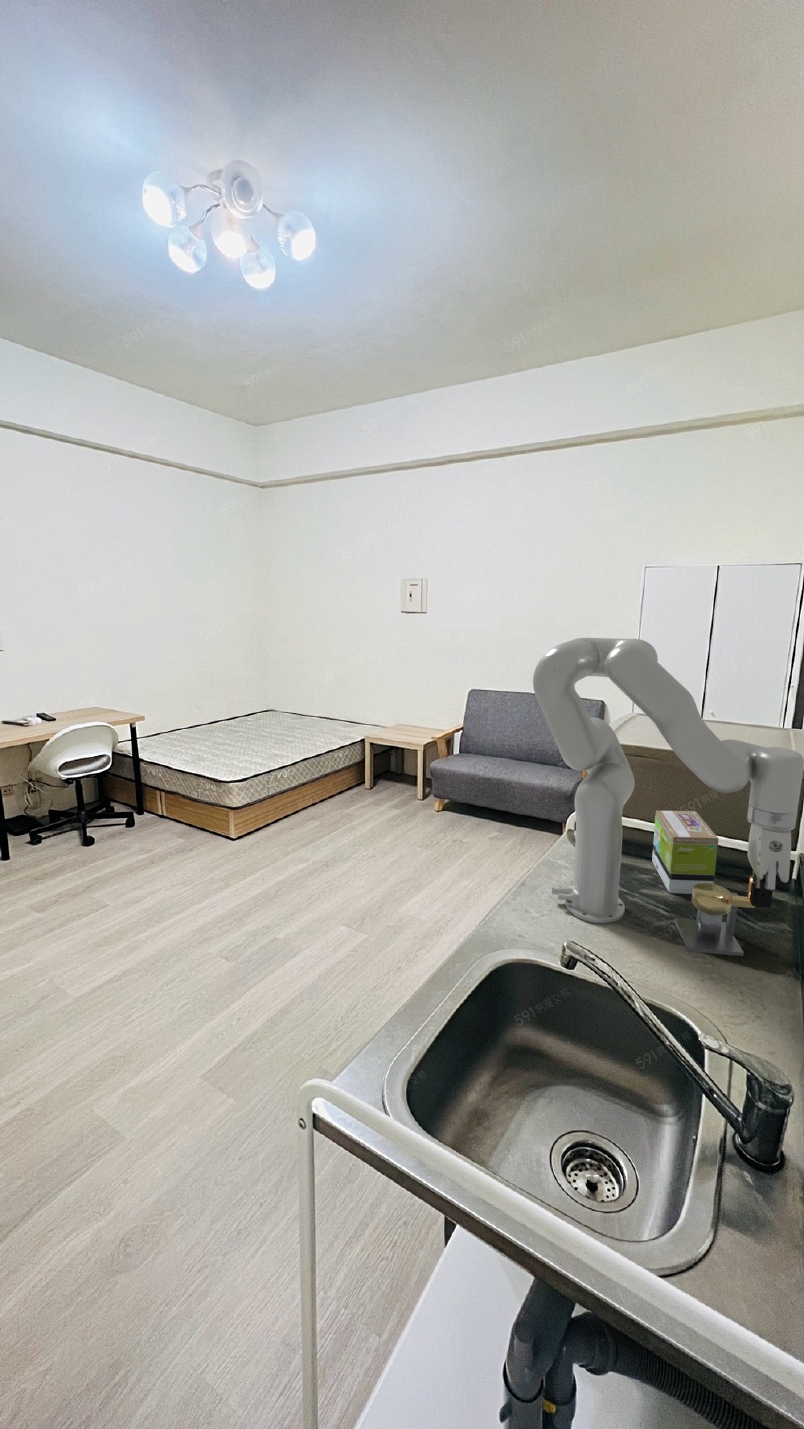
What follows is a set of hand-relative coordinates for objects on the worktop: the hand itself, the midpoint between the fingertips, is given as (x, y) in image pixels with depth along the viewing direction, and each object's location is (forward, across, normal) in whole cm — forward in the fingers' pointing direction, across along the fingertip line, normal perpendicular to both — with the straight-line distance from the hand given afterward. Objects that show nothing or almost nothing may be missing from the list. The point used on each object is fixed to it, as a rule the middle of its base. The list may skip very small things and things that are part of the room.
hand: (759, 904), depth 110 cm
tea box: (+11, +27, +10) cm, 31 cm away
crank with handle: (+3, +3, +5) cm, 7 cm away
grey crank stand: (+11, +3, +8) cm, 14 cm away
